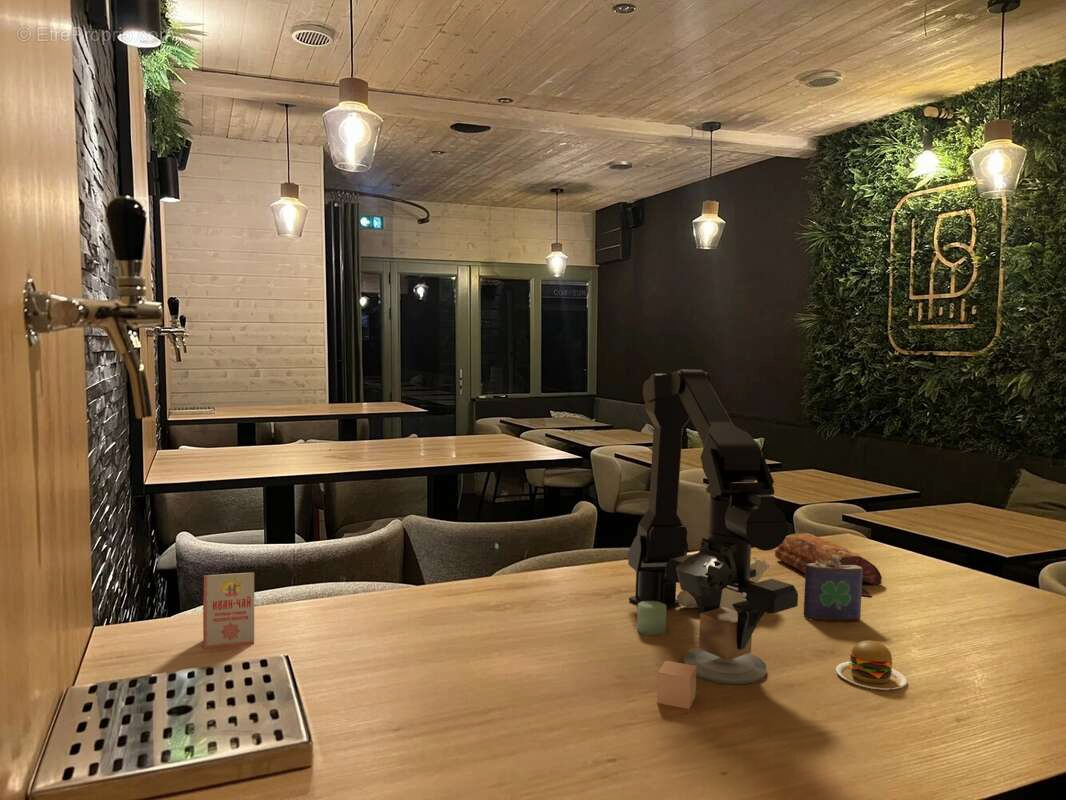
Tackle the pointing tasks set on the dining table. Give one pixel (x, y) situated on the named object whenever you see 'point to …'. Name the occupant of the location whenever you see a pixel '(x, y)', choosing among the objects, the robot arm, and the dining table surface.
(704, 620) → the walnut block
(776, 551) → the cured meat
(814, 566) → the flask
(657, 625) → the green tin
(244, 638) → the tea box
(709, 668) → the saucer
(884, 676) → the hamburger
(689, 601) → the white lumpy piece
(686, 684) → the terracotta block
